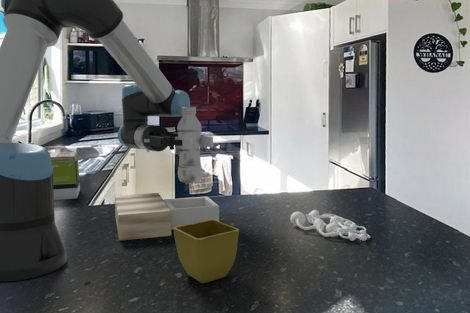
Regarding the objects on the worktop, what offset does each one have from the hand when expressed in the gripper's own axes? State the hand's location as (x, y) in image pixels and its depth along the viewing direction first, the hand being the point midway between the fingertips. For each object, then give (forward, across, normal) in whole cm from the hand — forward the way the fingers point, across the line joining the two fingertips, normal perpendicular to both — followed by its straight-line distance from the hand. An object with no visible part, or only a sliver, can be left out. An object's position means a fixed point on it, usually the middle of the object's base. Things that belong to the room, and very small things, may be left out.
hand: (201, 142), depth 104 cm
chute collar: (-5, 0, -21) cm, 22 cm away
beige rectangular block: (-11, +12, -21) cm, 27 cm away
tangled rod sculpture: (+26, -20, -22) cm, 39 cm away
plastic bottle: (-5, 0, -11) cm, 12 cm away
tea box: (-62, +12, -22) cm, 67 cm away
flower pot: (+26, +20, -22) cm, 40 cm away
